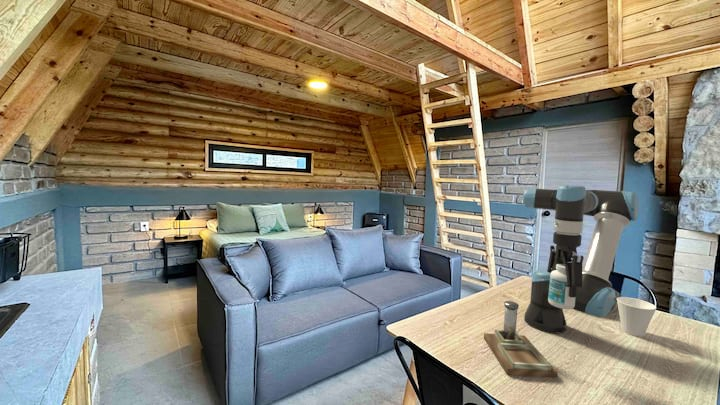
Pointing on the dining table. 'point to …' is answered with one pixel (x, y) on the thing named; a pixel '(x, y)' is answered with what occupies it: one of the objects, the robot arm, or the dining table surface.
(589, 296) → the robot arm
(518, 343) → the dock board
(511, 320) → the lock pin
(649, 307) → the cup
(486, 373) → the dining table surface
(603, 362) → the dining table surface
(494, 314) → the dining table surface
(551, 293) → the pill bottle
